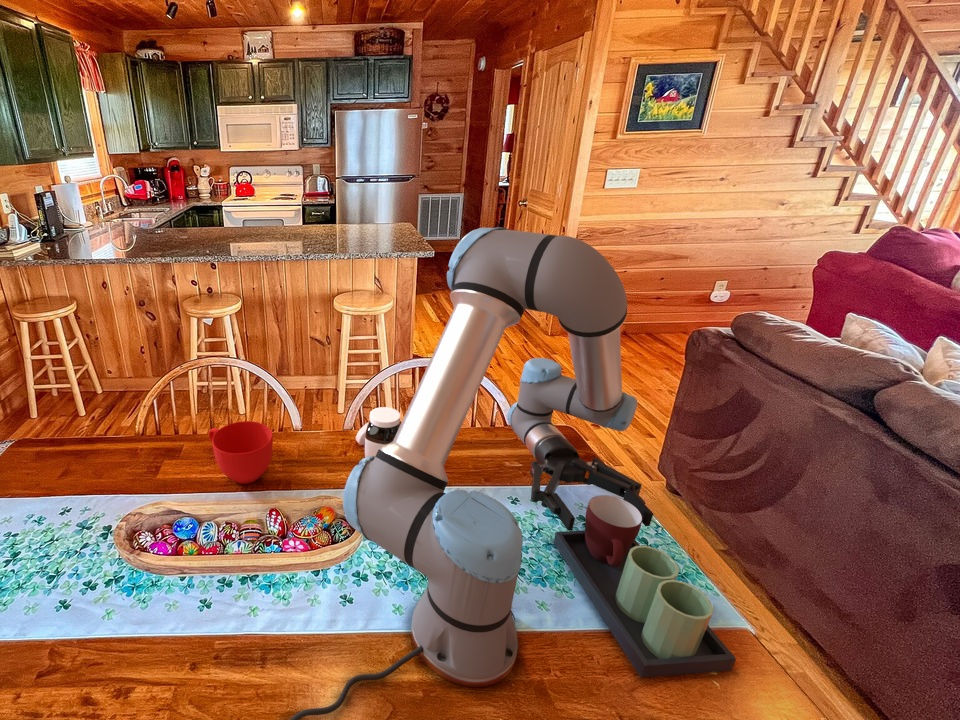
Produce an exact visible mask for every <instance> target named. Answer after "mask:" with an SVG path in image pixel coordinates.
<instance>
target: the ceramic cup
mask: <svg viewBox="0 0 960 720" xmlns="http://www.w3.org/2000/svg"><path fill="white" fill-rule="evenodd" d="M273 435H274V434H273V432H272V429H270V427H269V426H268V425H266V424H264V423H262V422H259V421H251V420H242V421H236V422H232V423H229V424H226V425H224V426H223V427H220V428H217V427H213V428H211V429H209V431H208V437H209V440H210V442H211V444H212V449H213V454H214V457H215V461H216V464H217V465H218V467H219V469H220V470H221V472H222V473H223V474H224V475H225V476H226V477H227V478H229V479H230V480H232V481H233V482H235V483H237V484H242V485H244V484H245V485H247V484H251V483H254V482H256V481H257V480H259V479H260V478H261V476H262V475H263V474H264V473H265V472H266V471H267V469H268V467H269V466H270V463H271V460H272V457H273V447H274V446H273V445H274V444H273V443H274V436H273Z"/></svg>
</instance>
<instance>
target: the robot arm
mask: <svg viewBox="0 0 960 720" xmlns="http://www.w3.org/2000/svg"><path fill="white" fill-rule="evenodd" d="M447 266H448V268H449V270H447V272H446V280H447V285H448V288H449V289H450V290H451V291H450V294H449V299H450V301H451V303H452V306H453V310H452V312H451V313H450V316H449V318H448V320H447V323H446V324H445V327H444V329H443V331H442V334H441V336H440V338H439V340H438V342H437V345H436V347H435V348H434V351H433V353H432V355H431V356H430V357H431V358H430V360H429V362H428V364H427V366H426V368H425V371H424V373H423V375H422V377H421V379H420V381H419V384H418V386H417V388H416V390H415V392H414V395H413V396H412V399H411V401H410V403H409V405H408V408H407V409H406V412H405V414H404V416H403V419H402V420H401V422H402V423H401V425H400V427H399V429H398V431H397V434H396V436H395V438H394V440H393V441H392V442H391V443H389V444H387V445H384V446H381V447H380V448H379V450H378V452H377V454H376V456H369V457H365V456H364V457H363V458H362V459H361V460H359V462H358V464H356V465H355V466H354V467H352V470H351V471H350V473H349V475H348V477H347V479H346V482H345V486H344V490H343V495H342V509H343V512H344V513H343V514H344V517H345V520H346V522H347V523H348V525H349V526H351V528H353V529H354V530H355V531H357V532H358V533H360V534H361V535H362V537H363V538H364V539H366V540H367V541H369V542H373V543H374V544H375V545H377V546H379V548H381V549H383V550H384V551H386V552H387V553H389V554H391V555H393V556H394V557H395V558H397V559H398V560H400V561H401V562H403V563H405V564H406V565H407V566H409V567H411V568H412V569H415V570H416V571H417V572H418V573H420V574H422V575H423V576H425V577H426V578H427V587H426V588H425V590H424V592H423V593H422V595H421V597H420V598H419V599H418V601H417V603H416V604H415V606H414V609H413V612H412V617H411V624H410V625H411V626H410V627H411V628H410V631H411V639H412V643H413V646H414V648H415V649H413V650H411V652H408V653H407V654H406V655H404V656H403V657H401V658H400V659H398V660H397V661H396V662H394V663H393V664H392V665H391V666H390V667H388V668H386V669H385V670H382V671H380V672H377V673H361V674H358V675H355V676H353V677H352V678H350V679H349V680H348V681H347V682H346V683H345V685H344V687H343V689H342V691H341V693H340V695H339V697H338V699H337V700H335V702H334V703H332V704H331V705H329V706H326V707H315V708H306V709H303V710H301V711H298V712H297V713H296V714H294V715H293V716H292V717H291V718H290V719H289V720H300V719H303V718H305V717H309V716H321V715H322V716H323V715H327V714H331V713H333V712H336V710H338V709H339V708H340V707H341V706H342V705H343V703H344V702H345V700H346V697H347V696H348V693H349V691H350V689H351V688H352V687H353V685H355V684H357V683H359V682H362V681H377V680H381V679H383V678H385V677H387V676H390V675H391V674H392V673H394V672H395V671H397V670H398V669H399V668H400V667H402V666H403V665H405V664H407V662H409V661H411V660H412V659H414V658H415V657H416V656H419V657H420V659H421V660H422V661H423V663H424V664H425V665H426V666H427V667H428V668H429V669H430V670H431V671H432V672H434V673H435V674H436V675H438V676H439V677H441V678H443V679H445V680H446V681H448V682H451V683H453V684H455V685H460V686H464V687H470V688H482V687H483V688H485V687H488V686H492V685H494V684H497V683H499V682H501V681H502V680H504V679H505V678H506V677H507V676H508V675H509V674H510V673H511V671H512V670H513V668H514V666H515V664H516V660H517V655H518V650H519V639H518V633H517V628H516V625H515V623H517V622H516V621H517V620H516V616H515V615H514V612H513V610H512V607H513V603H514V597H515V592H516V587H517V582H518V577H519V572H520V570H521V568H522V562H523V559H522V558H523V552H522V551H523V544H524V543H523V542H524V541H523V539H524V538H523V533H522V529H521V528H520V526H519V522H518V520H517V519H516V517H515V515H514V514H513V513H512V512H511V511H510V510H509V509H508V507H506V506H505V504H503V503H502V502H501V501H499V500H497V499H496V498H494V497H492V496H490V495H488V494H486V493H483V492H480V491H476V490H471V491H470V492H468V491H466V490H465V489H455V490H451V491H448V492H445V490H446V488H447V485H448V483H449V478H448V475H447V472H446V470H445V464H446V462H447V460H448V458H449V455H450V454H451V451H452V449H453V446H454V445H455V442H456V440H457V438H458V436H459V433H460V431H461V429H462V426H463V424H464V422H465V420H466V417H467V416H468V414H469V411H470V409H471V406H472V404H473V402H474V400H475V398H476V395H477V393H478V391H479V388H480V386H481V384H482V382H483V380H484V378H485V375H486V373H487V370H488V368H489V367H490V364H491V361H492V359H493V357H494V355H495V353H496V351H497V348H498V346H499V344H500V341H501V340H502V337H503V335H504V332H505V330H506V329H507V328H509V327H510V328H511V327H513V326H515V325H517V324H519V323H520V321H521V319H522V317H523V315H524V312H525V311H526V310H529V311H534V312H539V313H545V314H549V315H551V316H553V317H556V318H557V320H558V323H559V325H560V327H561V328H562V329H563V330H564V332H566V333H567V337H568V342H569V343H568V344H569V348H570V355H571V359H572V360H571V361H572V365H573V372H574V378H573V377H570V376H566V375H563V372H562V371H563V369H562V366H561V363H559V362H557V361H556V362H555V360H553V359H551V358H545V357H533V358H530V359H529V360H527V361H526V362H525V363H524V365H523V369H522V373H521V377H520V379H519V380H520V382H519V389H518V396H517V401H516V402H515V403H513V404H512V405H511V407H510V408H509V409H508V411H507V413H506V414H507V415H506V417H507V423H508V424H509V425H510V427H511V430H512V431H513V432H514V434H515V435H516V436H518V438H519V439H520V441H521V442H522V443H523V445H524V446H525V448H526V449H527V450H528V451H529V452H530V454H531V455H532V456H533V458H534V459H535V460H531V462H530V463H531V464H530V467H529V468H530V469H529V474H530V476H531V477H532V480H531V491H530V492H531V494H530V501H531V502H532V503H538V502H541V504H540V505H541V506H542V507H543V508H548V510H549V511H550V513H551V514H552V515H556V516H557V517H558V519H559V520H560V522H561V523H562V524H563V526H564V527H565V529H566V531H573V529H574V525H575V520H576V517H575V516H574V515H573V513H572V512H571V510H570V509H569V507H568V506H567V505H566V503H565V502H564V501H563V500H562V498H561V497H560V495H559V493H557V492H556V491H557V489H558V487H559V485H560V483H561V482H563V483H565V484H571V483H583V484H585V485H587V486H591V485H593V486H595V487H597V488H600V489H601V490H604V491H607V492H608V493H611V494H613V495H616V496H617V497H619V498H622V499H623V500H625V501H627V502H629V503H631V504H632V505H633V506H635V507H636V508H637V509H638V510H639V511H640V513H641V515H642V525H644V527H650V525H651V523H652V520H653V517H654V512H653V511H651V510H650V508H649V507H648V506H647V504H646V501H645V500H644V499H643V498H642V496H640V493H641V489H642V483H640V482H639V481H637V480H634V479H633V478H631V477H629V476H627V475H626V474H624V473H622V472H620V471H618V470H616V469H614V468H612V467H611V466H609V465H607V464H605V463H604V462H603V461H602V460H601V459H600V458H598V457H593V458H592V461H586V460H583V459H582V458H581V457H580V455H579V453H578V450H577V449H576V447H574V445H573V444H572V443H571V442H570V441H569V440H568V439H567V437H565V436H564V434H563V433H562V432H561V431H560V430H559V429H558V427H557V426H556V425H555V424H554V423H553V422H552V418H553V413H554V411H556V412H560V413H562V414H566V415H568V416H572V417H574V418H577V419H580V420H583V421H586V422H588V423H591V424H594V425H597V426H600V427H602V428H604V429H610V430H613V431H617V432H625V431H626V430H628V429H629V427H630V425H631V424H632V421H633V420H634V417H635V414H636V411H637V407H638V400H637V397H635V396H634V395H632V394H631V395H630V394H629V393H627V392H625V391H623V380H622V378H623V377H622V349H621V347H622V345H621V326H622V325H623V324H624V323H625V321H626V319H627V315H628V299H627V293H626V290H625V287H624V285H623V282H622V279H620V277H619V274H618V273H617V272H616V270H615V269H614V267H613V265H612V264H611V263H610V262H609V261H608V260H607V258H606V257H605V256H604V255H603V254H602V253H600V252H599V251H598V250H597V249H596V248H595V247H593V246H591V245H590V244H588V243H587V242H585V241H583V240H581V239H579V238H576V237H573V236H567V235H563V234H561V235H555V234H549V233H540V232H532V231H522V230H513V229H509V228H507V227H503V226H502V227H479V228H477V229H473V230H471V231H470V232H468V233H467V234H466V235H464V236H463V237H462V238H461V239H460V240H459V242H458V243H457V245H456V246H455V248H454V249H453V251H452V254H451V256H450V259H449V261H448V265H447ZM587 472H588V475H587ZM544 473H545V474H546V475H548V476H550V479H549V480H548V483H547V484H546V486H545V488H544V490H541V478H542V475H543V474H544ZM586 475H587V477H586Z"/></svg>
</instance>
